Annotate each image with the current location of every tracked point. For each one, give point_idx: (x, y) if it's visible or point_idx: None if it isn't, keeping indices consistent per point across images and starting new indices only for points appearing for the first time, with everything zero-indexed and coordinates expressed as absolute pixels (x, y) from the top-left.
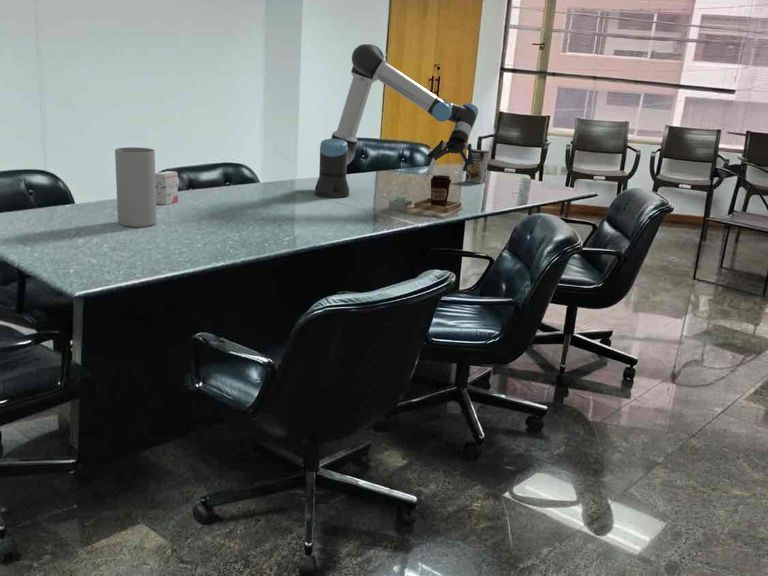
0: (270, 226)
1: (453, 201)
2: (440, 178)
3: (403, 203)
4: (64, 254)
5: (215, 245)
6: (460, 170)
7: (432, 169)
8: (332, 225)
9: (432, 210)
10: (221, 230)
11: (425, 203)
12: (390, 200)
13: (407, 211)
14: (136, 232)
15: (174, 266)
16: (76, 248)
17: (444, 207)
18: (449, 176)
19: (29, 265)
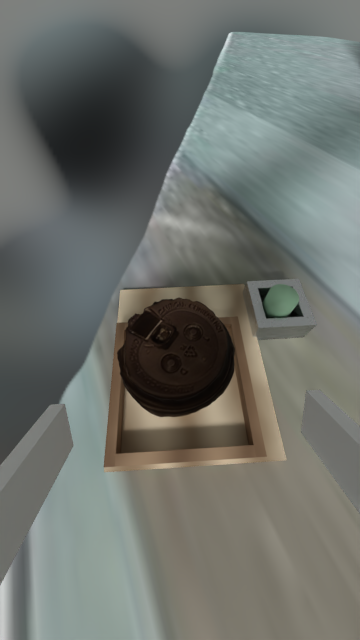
0: (299, 118)
1: (140, 459)
2: (159, 301)
3: (250, 282)
4: (310, 44)
5: (265, 75)
6: (39, 431)
7: (330, 468)
8: (252, 150)
9: None
10: (314, 94)
11: (241, 403)
12: (296, 281)
13: (226, 286)
14: (349, 70)
15: (236, 53)
16: (321, 49)
17: None
18: (131, 376)
19: (297, 35)
